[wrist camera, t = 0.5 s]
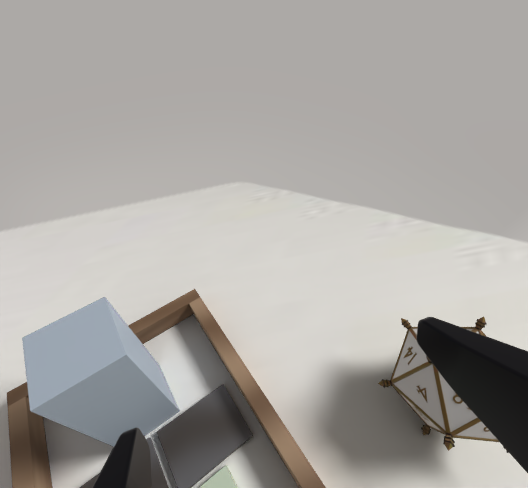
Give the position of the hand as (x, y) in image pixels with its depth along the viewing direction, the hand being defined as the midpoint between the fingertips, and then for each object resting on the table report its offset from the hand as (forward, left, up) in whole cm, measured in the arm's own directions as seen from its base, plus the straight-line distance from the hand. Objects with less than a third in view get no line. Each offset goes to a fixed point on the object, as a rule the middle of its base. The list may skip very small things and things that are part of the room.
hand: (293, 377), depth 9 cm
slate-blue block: (+5, +11, -17) cm, 20 cm away
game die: (+3, -12, -17) cm, 21 cm away
